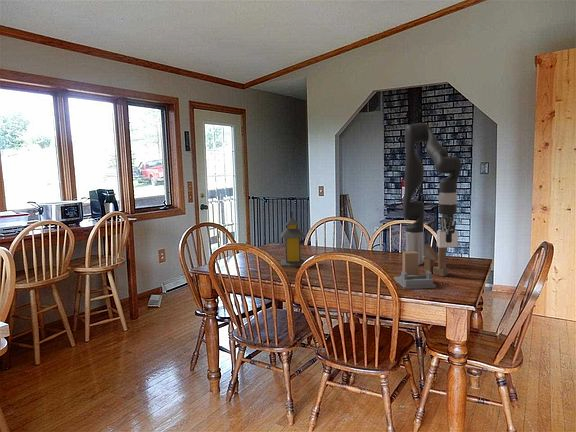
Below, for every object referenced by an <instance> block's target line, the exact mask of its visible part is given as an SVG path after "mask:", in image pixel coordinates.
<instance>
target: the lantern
mask: <svg viewBox="0 0 576 432" xmlns="http://www.w3.org/2000/svg"><path fill="white" fill-rule="evenodd" d="M293 210H294V209H290V219H288V221H287V222H286V223H285V226H286V228H285V229H284V230H283V231H282V232H281V233H280V235H279V238H280V239H282V238H283V239H285V240H284V241H285V259H280V267H281V266H295V267H301V266H300V265H301V264H302V263H303V262H304V261H306V259H305V258H302V257H301V238H305V237H306V234H305V233H304V232H303V231H302V230H301V229H300V228H299V227H298V226H299V222H298V221H297V220H296V219H295V218H294V211H293ZM306 262H307V261H306Z"/></svg>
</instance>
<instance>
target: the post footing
mask: <svg viewBox="0 0 576 432" xmlns="http://www.w3.org/2000/svg"><path fill="white" fill-rule="evenodd" d="M401 254H402V256H401V257H402V259H401V260H402V262H401V263H402V270H401V271H400V272H401V275H399V276H393V280H395V282H396V283H397V284H398V283H399V284H400V285H401V286H402V287H403V288H404V289H403V288H402V287H401V286H400V285H399V284H398V285H399V286H400V287H401V288H402V289H403V290H411V289H412V290H415V289H416V290H417V289H436V288H437V285H436V284H435V283H434V278H433V276H432V275H433V273H431V272H430V271H428V270H425V274H419V265H418V253H417V252H416V251H406V250H405V251H402V253H401Z"/></svg>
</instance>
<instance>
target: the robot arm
mask: <svg viewBox="0 0 576 432" xmlns="http://www.w3.org/2000/svg"><path fill="white" fill-rule="evenodd" d="M404 140H405V141H404V143H405V146H404V147H405V163H404V164H405V166H404V194H403V196H404V197H403V204H402V215H403V218H404V219H406V220H409V219H410V220H416V221H414V222H413V223H411V224H408V225H406V227H405V251H416V252H417V253H418V266H419V265H424V245H425V241H424V233H425V232H424V229H425V228H424V227H425V225H424V223H425V222H424V221H425V205H424V202H423V201H421V200H420V201H417V200H416V201H411V200H412V197H413V195H414V193H415V192H416V190H417V189H418V188H419V187H420V186H421V185H422V182H423V180H424V172H425V170H424V169H425V167H424V165H423V163H422V161H421V159H420V158H419V156H418V154H417V152H416V151H415V144H417V143H423V142H426V147H425V150H426V154H427V156H428V157H429V158H430V159H431V161H432V162H433V164H434V167H435V171H436V172H437V173H440V174H448V176H447V177H445V178H442V179H440V180H439V184H438V185H439V186H438V187H439V189H438V191H439V193H438V214H440V215H441V217H439V228H440V230H446V242H447V243H451V242H452V234H453V233H454V232H455V230H456V225H457V221H456V220H454V215H457V214H458V211H457V210H458V209H457V208H458V195H457V194H458V193H457V184H458V179H459V176H460V174H461V171H462V170H461V169H462V161H461V160H460V158H459V157H458V156H449V154H448V153H449V152H448V151H447V150H446V149H445V148H444V146H443V145H442V144H440V142H439V141H438V139H437V137H436V136H435V134H434V132H433V130H432V129H431V127H430V126H429V125H428V124H427V123H426V122H418V123H411V124H407V125H406V127H405V130H404ZM450 230H451V231H450Z"/></svg>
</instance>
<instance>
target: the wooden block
mask: <svg viewBox="0 0 576 432" xmlns="http://www.w3.org/2000/svg"><path fill="white" fill-rule="evenodd" d="M437 250H438V251H437V252H436V251H435V250H434V248H433V247H432V246H431V245H430V243H426V244H425V243H424V256H423V267H424V270H423V272H424V273H425V270H428V271H430V272H431V273H432V275H436V276H439V277H446V276H448V271H449V270H448V268H447V247H443V248H439V247H438V246H437ZM436 261H437V265H435V262H436Z"/></svg>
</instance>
